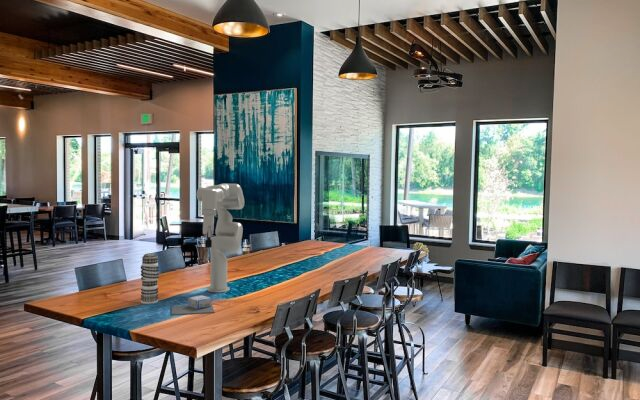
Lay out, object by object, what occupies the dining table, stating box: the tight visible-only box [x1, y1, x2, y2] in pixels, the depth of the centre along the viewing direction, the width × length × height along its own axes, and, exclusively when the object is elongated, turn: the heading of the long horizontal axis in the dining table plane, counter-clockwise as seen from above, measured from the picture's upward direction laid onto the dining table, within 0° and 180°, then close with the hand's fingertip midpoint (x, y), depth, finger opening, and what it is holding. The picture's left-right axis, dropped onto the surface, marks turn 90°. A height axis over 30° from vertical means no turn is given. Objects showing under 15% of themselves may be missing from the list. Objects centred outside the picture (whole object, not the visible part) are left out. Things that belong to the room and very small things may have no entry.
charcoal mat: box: [170, 303, 215, 316], centre depth 236 cm, size 14×20×1 cm
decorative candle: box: [140, 252, 160, 305], centre depth 248 cm, size 9×9×25 cm
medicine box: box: [187, 294, 212, 309], centre depth 241 cm, size 8×4×9 cm
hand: (208, 247), depth 250 cm, fingers closed
